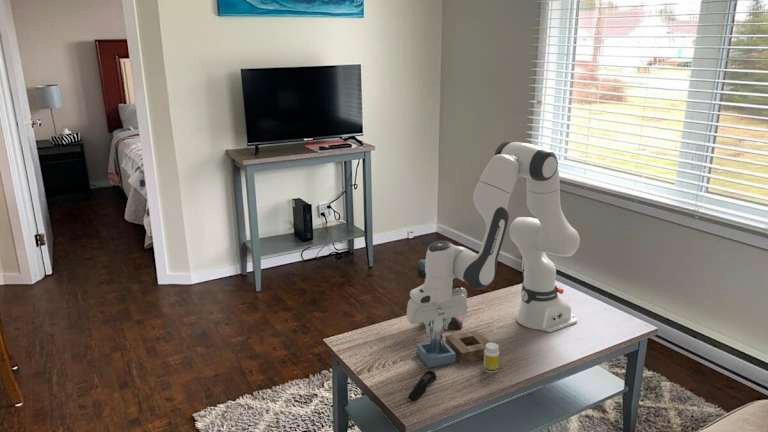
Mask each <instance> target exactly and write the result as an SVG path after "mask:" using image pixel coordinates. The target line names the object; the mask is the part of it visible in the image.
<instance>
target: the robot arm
mask: <svg viewBox="0 0 768 432" xmlns="http://www.w3.org/2000/svg"><path fill="white" fill-rule="evenodd" d="M558 163H559V161H558V158H557V155H556V154H555V152H554V151H552V150H550V149H548V148H546V147H541V146H538V145H536V144H532V143H525V142H521V141H520V142H519V141H516V140H506V141H503V142H501V143H500V144H499V146H497V148H496V150H495V151H494V156H493V157H492V158H491V159H490V160H489V162H488V163H487V165H486V167H485V168H484V170H483V171H482V174H481V175H480V177H479V180H478V182H477V184H476V187H475V188H474V191H473V196H472V201H473V205H474V207H475V209H476V210H477V212H478V213H479V214H480V215H481V216H482V218H483V220H484V223H485V228H486V229H485V234H484V237H483V240H482V243H481V246H480V250H479V252H478V253H476V252H475V251H472V250H471V249H469V248H466V247H464V246H460V245H455V244H453V243H452V242H450V241H448V240H437V241H434V242H431V244H429V245H428V248H427V250H426V253H425V254H426V255H425V259H426V261H425V272H426V278H425V279H424V283H423V284H421V285H420V286H417V287H416V288H413V289H411V290H410V292H409V296H410V298H409V299H408V302H407V307H406V319H407V320H408V322H409V323H410V324H412V325H417V324H422V323H423V324H424V326H425V332H426V333H427V334H430V333H431V332H432V327H431V326H429V325H428V324H430V321H434V320H437V313H439V312H438V308H439V307H441V308H442V309H443V310H444V311H445V313H444V314H443V315H442V318H443V319H445V321H444V323H443V331H446V330H448V328H447V326H448V324H449V323H450V321H451V317H457V316H463V317H464V316H465V315H466V314H467V313H468V302H467V300H468V299H467V298H468V290H467V289H466V288H463V287H458V288H453V287H452V286H453V284H454V283H453V282H454V281H453V279H454V278H456V279H459V280H460V281H461V282H464V283H465V284H466V285H468V286H469V288H471V289H473V290H483V289H485V288H487V287H488V286H490V285H491V284H492V283H493V281H494V279H495V276H496V272H497V264H498V259H499V256H500V253H501V249H502V245H503V243H504V239H505V235H506V232H507V228H508V225H509V224H508V223H509V218H510V215H509V212H508V208H509V207H508V206H509V202H510V201H509V200H510V199H511V196H512V193H513V191H514V188H515V186H516V183H517V179H518V178H525V179H526V181H525V182H526V183H525V185H526V186H525V187H526V191H525V192H526V207H527V209H528V211H529V213H530V214H532V215H533V216H534V217H531V216H530V217H529V216H528V217H527V216H522V217H521V216H518V217H517V218H515V219H514V220H513V221H512V223H511V224H510V227H509V237H510V240H511V241H512V242H513V243H514V244H515V245H516V247H517V248H518V250H519V252H520V254H521V257H522V262H523V269H524V270H523V282H522V284H521V285H522V286H521V293H520V295H521V296H520V297H521V300H520V305H519V307H518V308H519V309H518V311H517V314H516V316H515V320H516V321H517V323H519V324H520V325H522V326H523V327H526V328H528V329H532V330H537V331H538V330H540V331H543V332H547V333H552V332H553V333H554V332H556V331H557V330H560V329H563V328H566V327H570V326H572V325H575V324H576V323H578V319H577V317H576V316H575V315H574V314H573V313H572V309H571V305H570V304H569V303H568V302H567V301H566V300H565V299H564V298H563V297H561V296H560V295H563V294H564V293H565V289H563V288H561V287H558V286H557V285H556V275H557V268H556V265H555V264H554V262H553V261H552V260H551V259H550V258H549V257H548V256H547V254H549V255H553V256H557V257H571V256H573V255H574V254H575V253H576V252H577V251H578V249H579V247H580V243H581V238H580V235H579V232H578V231H577V229H575V228H574V227H573V226H572V225H571V224H570V223H569V221H568V220H567V219H566V216H565V214H564V213H563V210H562V205H561V192H560V191H561V190H560V189H561V185H560V183H561V182H560V172H559V165H558ZM559 294H560V295H559Z"/></svg>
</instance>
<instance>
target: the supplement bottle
mask: <svg viewBox="0 0 768 432" xmlns="http://www.w3.org/2000/svg"><path fill="white" fill-rule="evenodd" d="M499 363H500V352H499V344H498V343H495V342H490V343H487V344H486V349H485V350H484V359H483V363H482V364H483V366H482V367H483V368H482V369H483V370H484V371H485V372H487V373H492V374H493V373H497V372H498V371H499Z"/></svg>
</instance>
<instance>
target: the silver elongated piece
mask: <svg viewBox="0 0 768 432" xmlns="http://www.w3.org/2000/svg"><path fill="white" fill-rule="evenodd" d="M438 312H439V313H437V320H434V321H431V327H432V332H431V333H429V337H430V338H429V342H430V350H431V351H434V352H440V351H441V350H442V340H443V341H444V339H443V335H444V334H443V333H444V330H443V318H442V315H443V314H444V313H445V311H444V310H443V309H442V308H441V307H439V308H438Z"/></svg>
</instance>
